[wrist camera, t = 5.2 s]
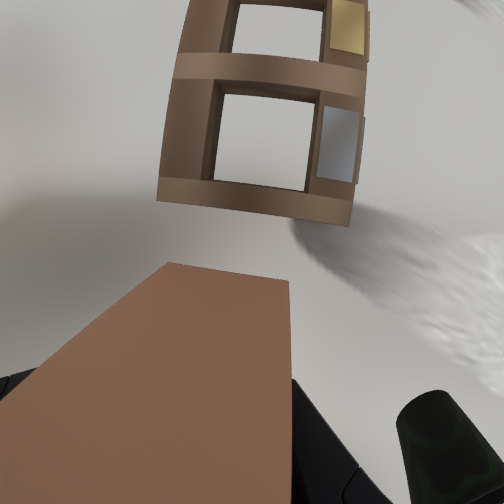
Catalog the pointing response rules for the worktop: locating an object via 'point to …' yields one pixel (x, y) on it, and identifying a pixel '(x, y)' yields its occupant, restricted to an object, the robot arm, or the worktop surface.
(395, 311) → the worktop surface
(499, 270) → the worktop surface
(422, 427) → the cup
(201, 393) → the tan rectangular block
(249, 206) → the socket block
